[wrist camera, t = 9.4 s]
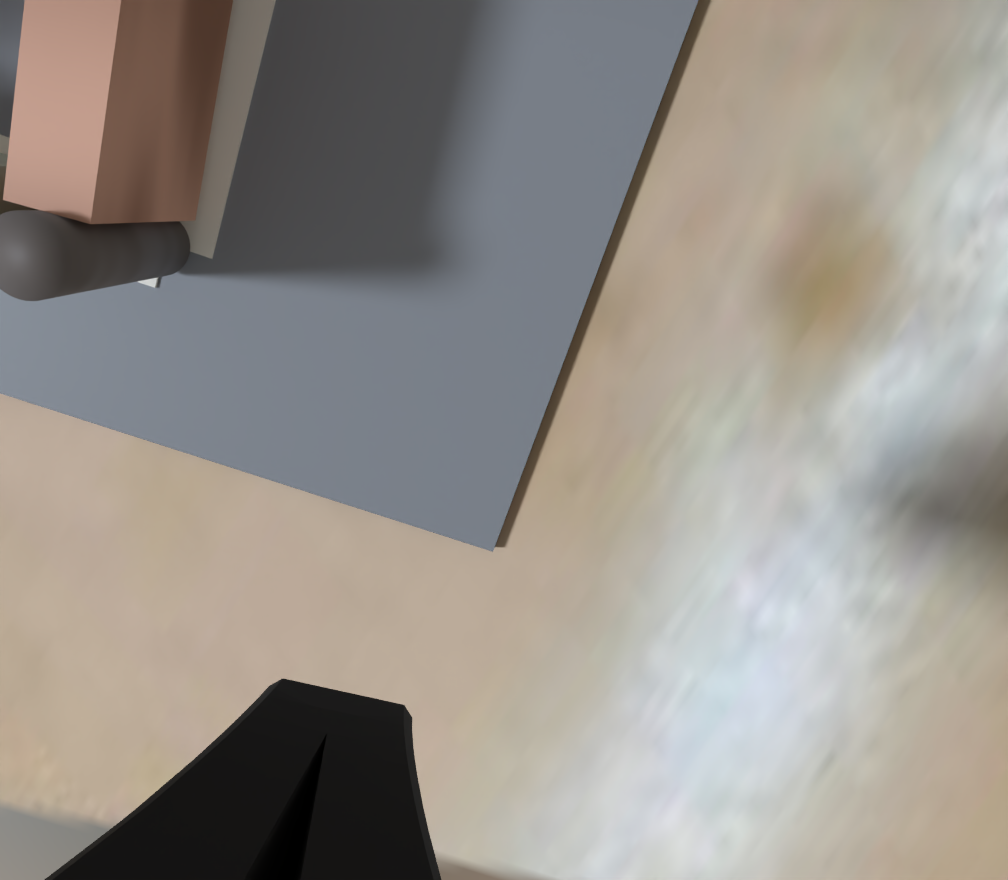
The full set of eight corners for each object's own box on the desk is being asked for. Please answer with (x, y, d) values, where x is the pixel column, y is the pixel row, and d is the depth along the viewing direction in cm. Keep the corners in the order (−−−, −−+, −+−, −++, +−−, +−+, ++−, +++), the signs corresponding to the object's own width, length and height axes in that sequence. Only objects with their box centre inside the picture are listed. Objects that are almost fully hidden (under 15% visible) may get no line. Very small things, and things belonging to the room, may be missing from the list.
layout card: (-378, 267, 16) (-391, 269, 16) (-320, -793, 12) (-338, -815, 12) (492, 548, 18) (493, 552, 17) (807, -299, 13) (813, -309, 13)
